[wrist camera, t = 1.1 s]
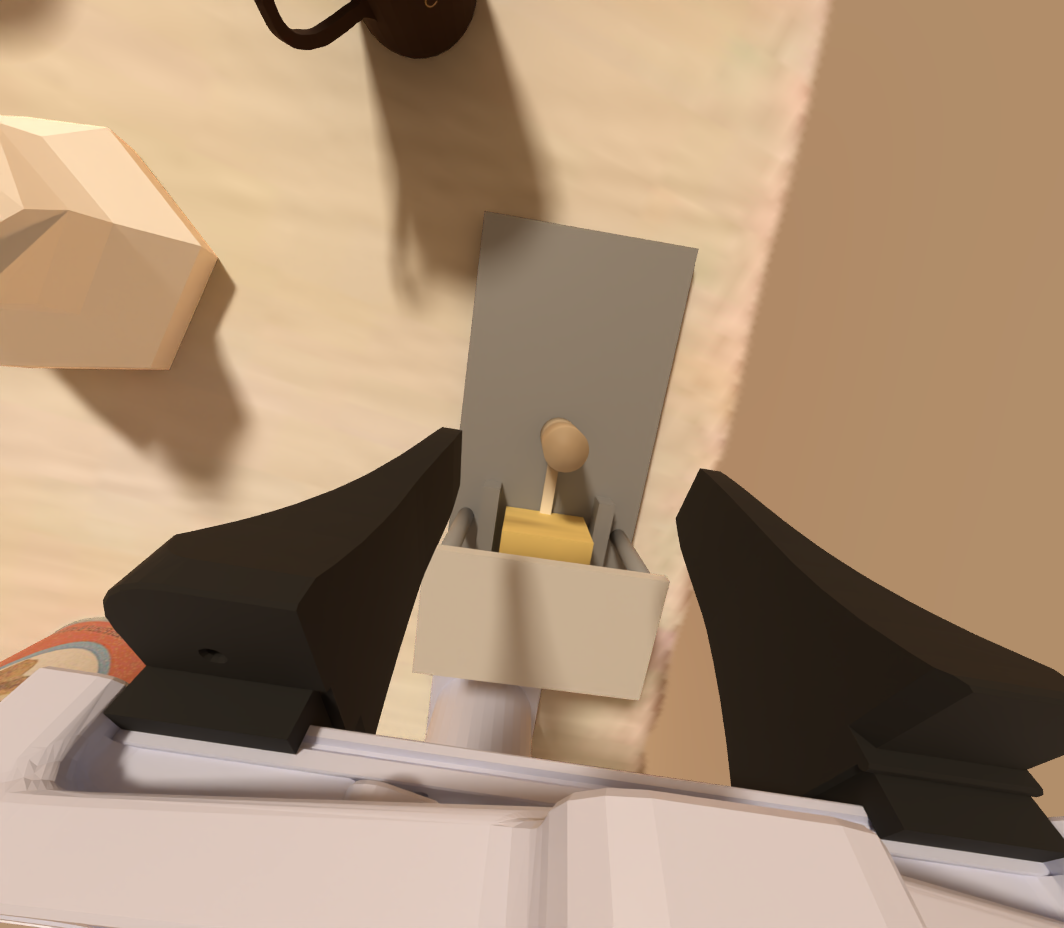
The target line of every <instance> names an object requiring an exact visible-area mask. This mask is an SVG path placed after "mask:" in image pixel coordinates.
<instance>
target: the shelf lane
mask: <svg viewBox="0 0 1064 928" xmlns="http://www.w3.org/2000/svg"><path fill="white" fill-rule="evenodd" d="M697 253H698V249H696V248H691V247H685V246H679V245H674V244H668V243H662V242H657V241H651V240H645V239H640V238H634V237H628V236H623V235H617V234H611V233H606V232H600V231H594V230H589V229H583V228H577V227H572V226H566V225H560V224H555V223H549V222H543V221H538V220H532V219H526V218H521V217H515V216H509V215H504V214H498V213H492V212H487V211H485V213H484V221H483V230H482V239H481V248H480V257H479V265H478V274H477V283H476V292H475V301H474V309H473V318H472V327H471V336H470V345H469V353H468V362H467V371H466V380H465V389H464V398H463V406H462V415H461V424H460V430H462V454H461V480H460V487H459V491H458V494H457V498H456V501H455V505H454V508H453V511H452V514H451V516H450V521H449V530H448V533H447V535H446V536H445V538H444V540H443V542H442V544H438V545H437V547H436V550H435V552H434V554H433V556H432V558H431V561H430V563H429V565H428V567H427V570H426V572H425V574H424V577H423V579H422V582H421V590H420V600H419V610H418V620H417V630H416V640H415V650H414V660H413V670H412V673H420V674H428V675H436V676H444V677H452V678H460V679H468V680H477V681H485V682H493V683H501V684H509V685H517V686H525V687H533V688H541V689H549V690H557V691H566V692H574V693H582V694H590V695H598V696H606V697H614V698H622V699H630V700H638V701H639V700H640V696H641V692H642V688H643V684H644V680H645V676H646V672H647V668H648V664H649V661H650V657H651V653H652V649H653V645H654V641H655V637H656V633H657V629H658V625H659V622H660V618H661V614H662V610H663V606H664V602H665V598H666V594H667V590H668V587H669V583H670V581H669V580H668V579H667V577H666V576H665V575H657V574H650V572H649V571H648V569H647V567H646V566H645V564H644V563H643V561H642V560H641V558H640V556H639V555H638V553H637V552H636V550H635V548H634V547H633V545H632V539H633V535H634V530H635V526H636V522H637V517H638V513H639V508H640V504H641V500H642V495H643V491H644V486H645V482H646V478H647V473H648V469H649V464H650V460H651V456H652V451H653V447H654V442H655V438H656V434H657V429H658V425H659V420H660V416H661V411H662V407H663V403H664V398H665V394H666V389H667V385H668V381H669V376H670V372H671V367H672V363H673V359H674V354H675V350H676V345H677V341H678V337H679V332H680V328H681V323H682V319H683V315H684V310H685V306H686V301H687V297H688V293H689V288H690V284H691V279H692V275H693V271H694V266H695V262H696V257H697ZM558 417H559V418H564V419H567V420H568V421H570V422H571V423H572V424H573V425H574V426H575V427H576V428H577V429H578V430H579V431H580V432H581V433H582V434H583V435H584V436H585V438H586V439H587V441H588V444H589V454H588V458H587V460H586V462H585V463H584V464H583V465H582V466H581V467H580V468H579V469H577V470H575V471H572V472H566V473H565V472H559V471H558V476H557V482H556V487H555V493H554V499H553V505H552V510H551V513H557V514H564V515H571V516H578V517H583V518H584V520H585V523H586V525H587V528H588V530H589V533H590V535H591V538H592V540H593V543H594V545H593V550H592V555H591V560H590V565H585V564H578V563H571V562H563V561H556V560H549V559H542V558H535V557H527V556H520V555H513V554H506V553H499V548H500V542H501V535H502V528H503V523H504V517H505V511H506V506H508V507H515V508H522V509H529V510H536V511H540V507H541V501H542V495H543V489H544V483H545V477H546V471H547V465H548V463H547V462H546V460H545V457H544V453H543V449H542V444H541V439H540V432H541V429H542V427H543V425H544V424H545V423H546V422H547V421H548V420H550V419H553V418H558Z"/></svg>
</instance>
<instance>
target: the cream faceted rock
mask: <svg viewBox="0 0 1064 928" xmlns="http://www.w3.org/2000/svg"><path fill="white" fill-rule="evenodd" d="M217 259H218V257H217V256H216V254H215V253H214V252H213V251H212V249H211V248H210V247H209V245H208V244H207V243H206V241H205V240H204V239H203V238H202V236H201V235H200V234H199V232H198V231H197V230H196V229H195V227H194V226H193V225H192V223H191V222H190V221H189V220H188V218H187V217H186V216H185V214H184V213H183V212H182V211H181V209H180V208H179V207H178V206H177V204H176V203H175V202H174V200H173V199H172V198H171V197H170V195H169V194H168V193H167V191H166V190H165V189H164V188H163V186H162V185H161V184H160V182H159V181H158V180H157V179H156V177H155V176H154V175H153V174H152V172H151V171H150V170H149V168H148V167H147V166H146V165H145V163H144V162H143V161H142V159H141V158H140V157H139V156H138V154H137V153H136V152H135V150H134V149H132V148H131V147H130V146H129V145H128V144H127V143H125V142H124V141H123V140H122V139H121V138H120V137H119V136H117V135H116V134H115V133H114V132H113V131H112V130H110V129H109V128H108V127H100V126H93V125H85V124H78V123H70V122H62V121H55V120H47V119H39V118H32V117H21V116H1V115H0V366H10V367H22V368H66V369H138V370H170V367H171V365H172V363H173V360H174V358H175V356H176V354H177V351H178V349H179V347H180V344H181V342H182V340H183V337H184V335H185V333H186V330H187V328H188V326H189V324H190V321H191V319H192V317H193V314H194V312H195V310H196V307H197V305H198V303H199V301H200V298H201V296H202V294H203V291H204V289H205V287H206V284H207V282H208V280H209V277H210V275H211V273H212V271H213V268H214V266H215V264H216V261H217Z"/></svg>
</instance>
